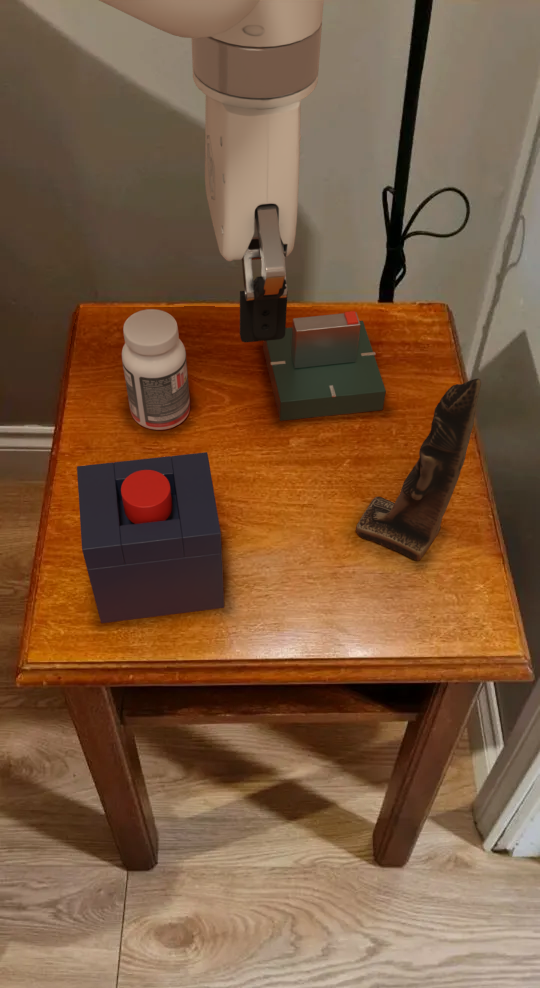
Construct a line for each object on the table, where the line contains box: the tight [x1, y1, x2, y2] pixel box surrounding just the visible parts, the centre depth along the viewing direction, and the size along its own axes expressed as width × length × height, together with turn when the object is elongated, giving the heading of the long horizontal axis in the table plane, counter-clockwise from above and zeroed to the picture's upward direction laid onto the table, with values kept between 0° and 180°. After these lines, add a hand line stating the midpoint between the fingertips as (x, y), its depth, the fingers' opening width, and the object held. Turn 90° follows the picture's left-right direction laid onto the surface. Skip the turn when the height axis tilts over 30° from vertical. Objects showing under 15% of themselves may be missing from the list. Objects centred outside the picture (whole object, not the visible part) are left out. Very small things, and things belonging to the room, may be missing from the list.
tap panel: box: [262, 320, 387, 422], centre depth 88 cm, size 10×10×3 cm
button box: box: [76, 451, 225, 624], centre depth 72 cm, size 10×8×10 cm
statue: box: [355, 378, 482, 562], centre depth 70 cm, size 4×7×20 cm, turn 62°
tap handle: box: [291, 310, 360, 368], centre depth 85 cm, size 6×2×5 cm, turn 100°
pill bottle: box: [121, 308, 191, 431], centre depth 82 cm, size 6×6×10 cm
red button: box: [121, 470, 172, 524], centre depth 67 cm, size 4×4×2 cm
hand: (251, 294), depth 67 cm, fingers open, 9 cm apart
